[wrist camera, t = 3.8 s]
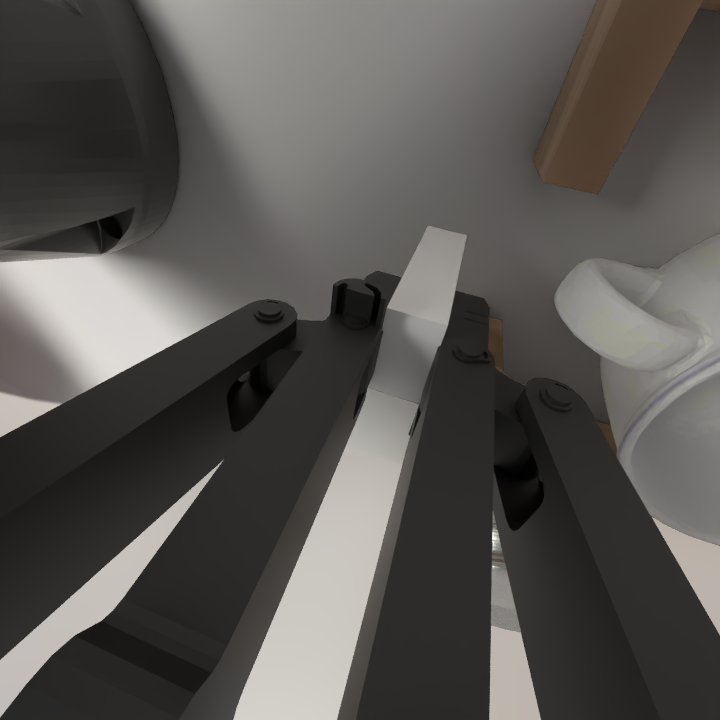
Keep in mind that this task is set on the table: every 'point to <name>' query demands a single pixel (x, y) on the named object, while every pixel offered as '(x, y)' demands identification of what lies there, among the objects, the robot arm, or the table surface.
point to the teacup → (658, 375)
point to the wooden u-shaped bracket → (606, 100)
